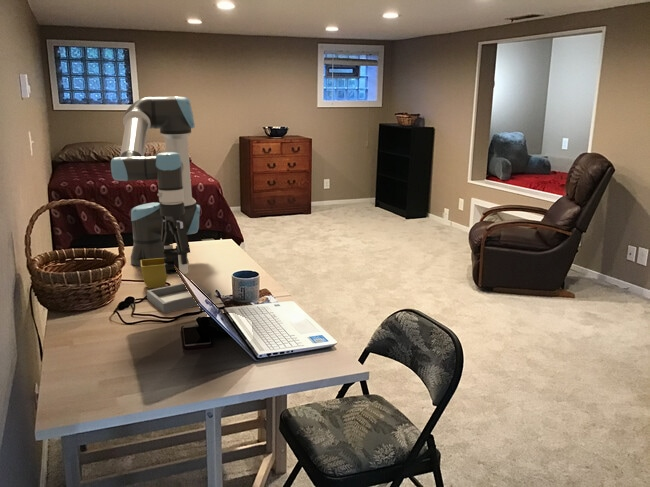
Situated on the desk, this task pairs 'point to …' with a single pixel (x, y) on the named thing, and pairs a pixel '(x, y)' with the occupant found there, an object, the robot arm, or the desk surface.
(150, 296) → the holder tray
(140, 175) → the robot arm
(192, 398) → the desk surface
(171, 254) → the end cap
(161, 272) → the flower pot
